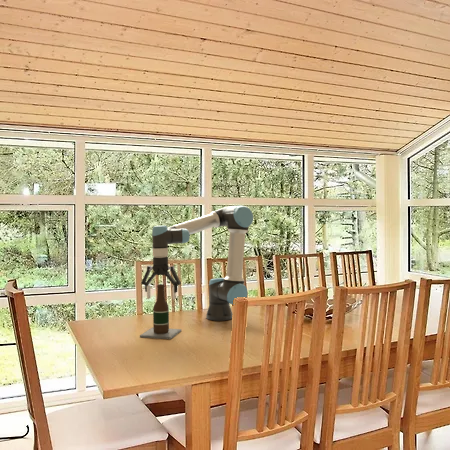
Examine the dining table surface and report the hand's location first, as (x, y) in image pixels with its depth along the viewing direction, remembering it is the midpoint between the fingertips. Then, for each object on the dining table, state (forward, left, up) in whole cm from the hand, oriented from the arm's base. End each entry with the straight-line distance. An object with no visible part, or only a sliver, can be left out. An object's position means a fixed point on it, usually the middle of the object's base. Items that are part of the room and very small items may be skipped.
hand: (161, 298), depth 239 cm
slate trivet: (0, 0, -18) cm, 18 cm away
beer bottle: (0, 0, -17) cm, 17 cm away
